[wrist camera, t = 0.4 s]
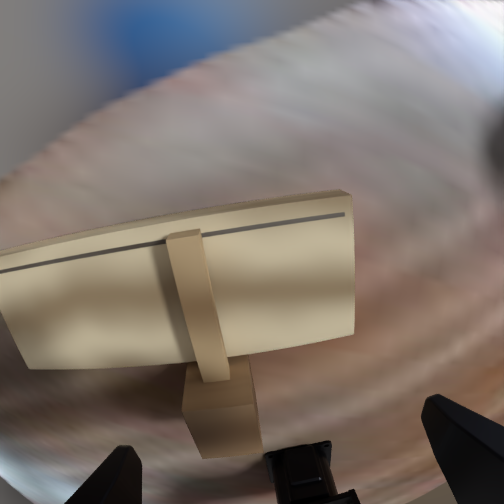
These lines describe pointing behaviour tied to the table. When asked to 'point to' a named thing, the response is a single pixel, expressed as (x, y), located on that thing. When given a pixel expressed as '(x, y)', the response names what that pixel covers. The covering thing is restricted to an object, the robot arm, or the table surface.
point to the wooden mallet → (212, 362)
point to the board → (165, 290)
